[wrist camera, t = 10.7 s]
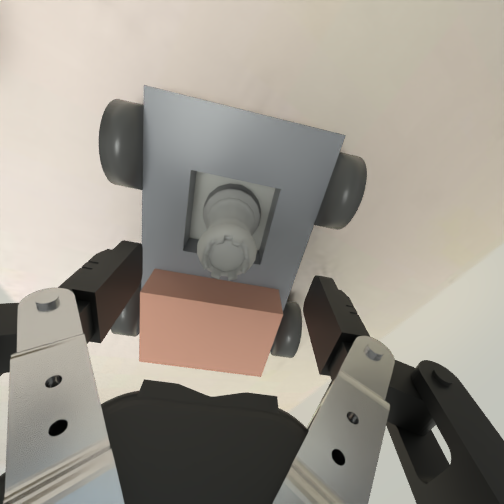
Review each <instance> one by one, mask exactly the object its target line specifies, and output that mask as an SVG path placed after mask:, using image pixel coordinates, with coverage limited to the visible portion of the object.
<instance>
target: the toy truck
mask: <svg viewBox="0 0 504 504" xmlns="http://www.w3.org/2000/svg"><path fill="white" fill-rule="evenodd" d="M345 136H346V135H342V134H338V133H334V132H330V131H326V130H322V129H318V128H314V127H310V126H306V125H302V124H298V123H294V122H290V121H286V120H282V119H278V118H274V117H270V116H266V115H262V114H258V113H254V112H250V111H246V110H242V109H238V108H234V107H230V106H226V105H222V104H218V103H214V102H210V101H206V100H202V99H198V98H194V97H190V96H186V95H182V94H178V93H174V92H170V91H166V90H162V89H158V88H154V87H150V86H146V85H144V105H141V104H137V103H133V102H129V101H124V100H120V99H115V100H113V101H111V102H110V103H109V104H108V106H107V107H106V109H105V111H104V114H103V116H102V120H101V124H100V130H99V154H100V160H101V165H102V168H103V171H104V173H105V175H106V177H107V179H108V180H109V181H110V182H111V183H113V184H115V185H120V186H125V187H130V188H135V189H140V190H142V247H143V275H142V280H141V283H140V285H139V287H138V288H137V290H136V291H135V293H134V294H133V296H132V297H131V299H130V300H129V302H128V303H127V305H126V306H125V308H124V309H123V311H122V312H121V314H120V315H119V317H118V318H117V320H116V321H115V323H114V324H113V326H112V327H111V331H112V333H114V334H120V335H127V336H137V335H138V334H139V333H140V344H139V361H140V362H148V363H156V364H164V365H172V366H180V367H188V368H195V369H203V370H211V371H219V372H227V373H235V374H243V375H251V376H259V377H261V375H262V372H263V370H264V367H265V364H266V361H267V359H268V356H269V353H270V352H271V354H272V355H273V356H281V357H288V358H292V357H294V355H295V354H296V352H297V350H298V347H299V343H300V338H301V331H302V316H301V310H300V306H299V304H298V303H297V302H291V301H287V299H288V296H289V293H290V291H291V288H292V285H293V282H294V279H295V277H296V274H297V271H298V268H299V265H300V262H301V260H302V257H303V254H304V251H305V248H306V246H307V243H308V240H309V237H310V234H311V231H312V229H313V226H314V225H317V226H322V227H327V228H332V229H337V230H338V229H342V228H343V227H345V226H346V225H347V224H348V223H349V222H350V221H351V219H352V218H353V217H354V215H355V213H356V211H357V210H358V207H359V205H360V203H361V200H362V197H363V194H364V190H365V185H366V178H367V170H366V164H365V162H364V160H363V159H362V158H361V157H357V156H353V155H349V154H345V153H341V152H340V150H341V147H342V144H343V141H344V138H345ZM229 183H231V184H238V185H242V186H244V187H246V188H247V189H249V190H251V191H252V192H253V193H254V195H255V196H256V197H257V199H258V200H259V204H260V208H261V217H260V223H259V226H258V228H257V229H256V231H255V232H254V234H253V235H252V237H253V239H254V240H255V244H256V247H257V254H256V259H255V261H254V263H253V264H252V266H251V267H250V269H248V270H247V271H246V273H245V274H244V273H242V274H240V275H237V279H234V280H230V281H228V277H227V276H220V278H219V280H218V279H216V278H214V277H212V276H211V272H210V271H208V270H207V269H205V270H204V268H203V265H202V264H201V262H200V260H199V257H198V255H197V243H198V241H199V239H200V237H201V235H202V234H203V233H204V232H205V231H206V230H207V228H206V225H205V222H204V220H203V208H204V203H205V201H206V199H207V197H208V195H209V193H211V192H212V191H213V190H214V189H216V188H217V187H218V186H222V185H225V184H229Z"/></svg>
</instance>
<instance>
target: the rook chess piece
mask: <svg viewBox="0 0 504 504" xmlns="http://www.w3.org/2000/svg"><path fill="white" fill-rule="evenodd" d="M260 217H261V208H260V204H259V200H258V199H257V197H256V196H255V195H254V193H253V192H252V191H251V190H249V189H247V188H246V187H244V186H242V185H238V184H231V183H229V184H225V185H222V186H218V187H217V188H216V189H214V190H213V191H212V192H211V193H209V195H208V197H207V199H206V201H205V203H204V208H203V220H204V222H205V225H206V228H207V230H206V231H205V232H204V233H203V234H202V235H201V237H200V239H199V241H198V243H197V255H198V257H199V260H200V262H201V264H202V265H203V268H204V270H205V269H207V270H208V271H210V272H211V276H212V277H214V278H216V279H218V280H219V278H220V276H227V277H228V281H230V280H234V279H237V275H240V274H242V273H244V274H245V273H246V271H247V270H248V269H250V267H251V266H252V264H253V263H254V261H255V259H256V254H257V247H256V244H255V240H254V239H253V237H252V235H253V234H254V232H255V231H256V229H257V228H258V226H259V223H260Z"/></svg>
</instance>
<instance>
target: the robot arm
mask: <svg viewBox="0 0 504 504" xmlns="http://www.w3.org/2000/svg"><path fill="white" fill-rule="evenodd" d="M142 275H143V247H142V244H140V243H135V242H129V241H121V242H120V243H119V244H118V245H117V246H116V247H115V248H114V249H113V250H110V249H107V250H105V251H102V252H100V253H98V254H96V255H95V256H93V257H92V258H91V259H90V260H89V261H88V262H87V263H85V264H84V265H83V266H82V268H80V269H79V270H77V271H76V272H75V273H74V274H73V275H72V276H71V277H69V278H68V279H67V280H66V281H65V282H64V283H63V284H61V285H60V286H59V287H58V288H47V289H42V290H39V291H36V292H33V293H31V294H29V295H28V296H26V297H25V298H23V299H22V300H21V301H20V303H7V304H0V376H1V375H2V374H3V373H7V372H10V376H9V401H8V426H7V451H6V472H5V473H4V474H2V475H1V476H0V504H368V501H369V496H370V492H371V488H372V484H373V479H374V475H375V471H376V466H377V462H378V458H379V453H380V449H381V445H382V440H383V436H384V431H385V426H387V428H388V431H389V433H390V436H391V438H392V441H393V443H394V446H395V449H396V451H397V454H398V456H399V459H400V462H401V464H402V467H403V469H404V472H405V475H406V477H407V480H408V482H409V485H410V487H411V490H412V493H413V495H414V498H415V500H416V503H417V504H504V440H503V439H502V438H501V436H500V435H499V433H498V432H497V431H496V429H495V428H494V427H493V425H492V424H491V423H490V421H489V420H488V418H487V417H486V416H485V414H484V413H483V412H482V410H481V409H480V408H479V406H478V405H477V404H476V402H475V401H474V400H473V398H472V397H471V395H470V394H469V393H468V391H467V390H466V389H465V387H464V386H463V385H462V383H461V382H460V381H459V379H458V378H457V377H455V375H454V374H453V373H451V372H450V371H449V370H448V369H446V368H445V367H443V366H441V365H440V364H438V363H435V362H432V361H428V360H424V361H421V362H420V363H419V364H418V366H417V367H416V368H414V367H412V366H409V365H407V364H404V363H402V362H399V361H397V360H395V359H394V356H393V354H392V353H391V351H390V350H389V349H388V348H387V347H386V346H385V345H384V344H383V343H381V342H380V341H378V340H376V339H374V338H372V337H370V336H369V334H368V332H367V330H366V328H365V326H364V324H363V323H362V321H361V319H360V317H359V315H357V311H356V310H355V308H354V306H353V304H352V302H351V300H350V298H349V297H348V296H347V295H346V294H345V293H344V292H343V291H341V290H338V288H337V286H336V284H335V282H334V280H333V279H332V278H328V277H322V276H315V277H314V279H313V281H312V284H311V286H310V289H309V291H308V294H307V296H306V299H305V302H304V307H303V312H304V317H305V320H306V324H307V328H308V332H309V336H310V339H311V343H312V347H313V351H314V355H315V358H316V362H317V366H318V370H319V374H321V375H328V376H331V379H332V381H331V383H330V385H329V387H328V389H327V390H326V392H325V394H324V396H323V398H322V400H321V402H320V404H319V406H318V408H317V409H316V411H315V413H314V415H313V417H312V419H311V421H310V422H309V424H308V426H307V428H306V427H305V426H304V425H303V424H301V423H300V422H299V421H298V420H297V419H296V418H295V417H293V416H292V415H290V414H289V413H287V412H285V411H283V410H281V409H279V408H278V401H277V396H269V395H261V394H253V393H238V394H231V395H224V396H217V397H210V396H207V395H204V394H202V393H199V392H197V391H194V390H192V389H189V388H187V387H185V386H182V385H180V384H175V383H167V382H159V381H151V380H144V381H143V384H142V386H141V388H140V391H135V392H130V393H126V394H123V395H120V396H117V397H115V398H113V399H110V400H108V401H106V402H104V403H103V404H100V399H99V395H98V391H97V386H96V382H95V378H94V373H93V369H92V365H91V360H90V356H89V352H88V347H87V343H88V342H96V343H101V342H102V341H103V339H104V338H105V336H106V335H107V333H108V332H109V330H110V329H111V327H112V326H113V324H114V323H115V321H116V320H117V318H118V317H119V315H120V314H121V312H122V311H123V309H124V308H125V306H126V305H127V303H128V302H129V300H130V299H131V297H132V296H133V294H134V293H135V291H136V290H137V288H138V287H139V285H140V283H141V280H142ZM435 425H437V427H438V429H439V430H440V432H441V434H442V436H443V437H444V439H445V441H446V443H447V445H448V447H449V449H450V452H451V464H450V465H449V463H448V461H447V459H446V457H445V455H444V453H443V451H442V449H441V448H440V446H439V444H438V442H437V440H436V438H435V436H434V434H433V432H432V431H431V429H432V428H433V427H434V426H435Z"/></svg>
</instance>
